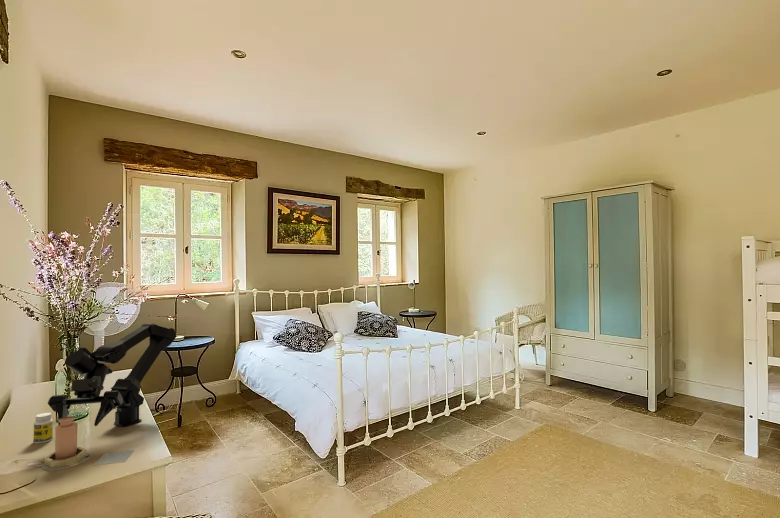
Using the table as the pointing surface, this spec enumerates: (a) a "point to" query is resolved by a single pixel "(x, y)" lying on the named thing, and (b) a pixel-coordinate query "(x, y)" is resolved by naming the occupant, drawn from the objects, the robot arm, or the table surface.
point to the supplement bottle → (43, 428)
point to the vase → (66, 438)
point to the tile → (114, 457)
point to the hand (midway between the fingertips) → (77, 427)
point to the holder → (65, 460)
